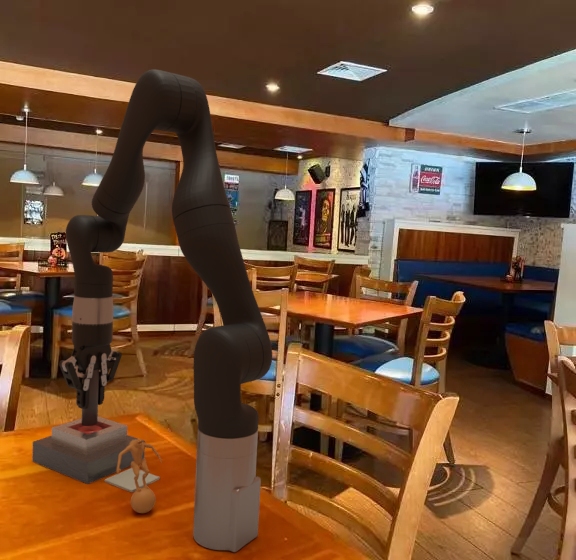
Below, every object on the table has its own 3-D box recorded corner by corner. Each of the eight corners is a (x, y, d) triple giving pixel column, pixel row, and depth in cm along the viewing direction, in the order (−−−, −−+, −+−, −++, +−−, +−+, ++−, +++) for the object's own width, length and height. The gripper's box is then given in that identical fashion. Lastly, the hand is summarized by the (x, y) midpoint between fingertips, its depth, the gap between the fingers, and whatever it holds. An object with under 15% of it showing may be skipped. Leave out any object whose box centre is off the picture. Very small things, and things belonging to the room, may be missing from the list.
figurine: (125, 524, 94) (128, 451, 93) (108, 509, 98) (109, 439, 97) (170, 509, 99) (173, 440, 98) (152, 496, 104) (154, 429, 103)
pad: (159, 479, 110) (159, 477, 110) (131, 492, 105) (131, 490, 104) (132, 469, 114) (133, 467, 114) (104, 481, 108) (104, 479, 108)
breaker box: (144, 460, 119) (145, 426, 118) (87, 484, 107) (88, 446, 106) (90, 441, 127) (91, 409, 126) (32, 461, 115) (33, 426, 114)
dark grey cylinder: (100, 423, 117) (102, 368, 116) (88, 427, 114) (90, 371, 113) (90, 419, 118) (92, 366, 117) (78, 423, 116) (79, 368, 115)
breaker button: (105, 450, 117) (106, 428, 117) (88, 457, 114) (88, 434, 113) (90, 445, 120) (91, 423, 119) (72, 451, 116) (73, 429, 115)
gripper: (75, 326, 106) (73, 419, 108) (133, 317, 118) (130, 401, 120) (48, 320, 110) (47, 410, 112) (107, 313, 122) (105, 394, 124)
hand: (90, 405), depth 116 cm, fingers closed on dark grey cylinder, 3 cm apart
